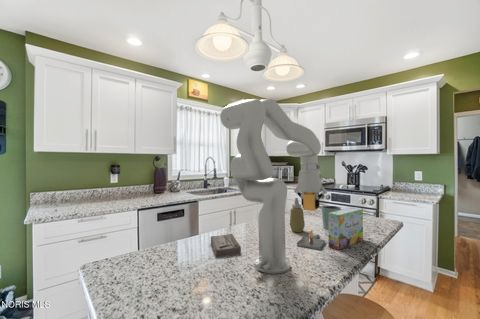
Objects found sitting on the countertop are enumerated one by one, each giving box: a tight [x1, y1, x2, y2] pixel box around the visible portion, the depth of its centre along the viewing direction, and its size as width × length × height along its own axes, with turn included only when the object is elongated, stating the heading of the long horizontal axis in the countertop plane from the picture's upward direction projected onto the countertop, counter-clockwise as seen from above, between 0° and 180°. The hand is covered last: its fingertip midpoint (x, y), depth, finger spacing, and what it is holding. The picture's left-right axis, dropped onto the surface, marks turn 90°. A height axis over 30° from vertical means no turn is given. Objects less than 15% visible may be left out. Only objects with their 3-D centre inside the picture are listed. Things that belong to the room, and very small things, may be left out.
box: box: [210, 233, 242, 257], centre depth 101 cm, size 11×17×3 cm, turn 15°
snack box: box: [328, 206, 364, 251], centre depth 104 cm, size 21×6×15 cm, turn 127°
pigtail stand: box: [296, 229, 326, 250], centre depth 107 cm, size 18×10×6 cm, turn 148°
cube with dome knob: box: [302, 193, 319, 212], centre depth 104 cm, size 5×5×8 cm
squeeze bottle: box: [289, 197, 306, 233], centre depth 124 cm, size 8×8×18 cm
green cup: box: [321, 205, 342, 231], centre depth 128 cm, size 10×10×12 cm
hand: (310, 207), depth 104 cm, fingers closed on cube with dome knob, 4 cm apart
